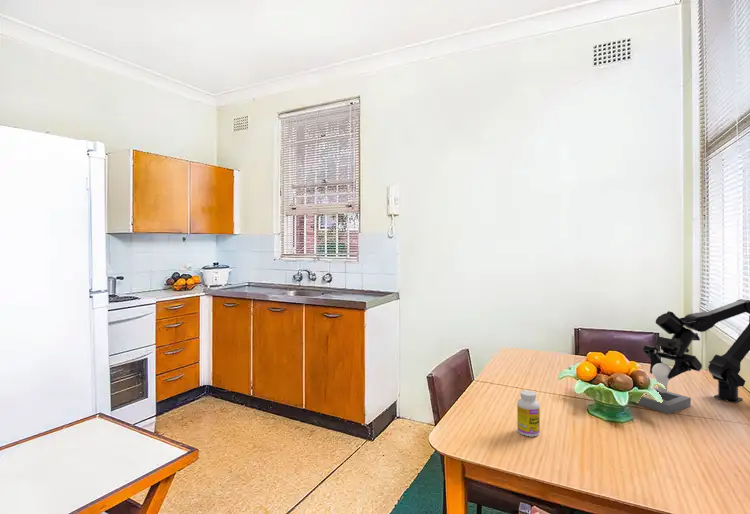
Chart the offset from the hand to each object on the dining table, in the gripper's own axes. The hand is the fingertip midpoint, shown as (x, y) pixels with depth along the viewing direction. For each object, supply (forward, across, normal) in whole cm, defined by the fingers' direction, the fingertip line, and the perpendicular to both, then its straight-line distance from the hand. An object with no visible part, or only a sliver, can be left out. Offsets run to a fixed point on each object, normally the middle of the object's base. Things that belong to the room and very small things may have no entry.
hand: (659, 375), depth 151 cm
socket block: (+7, 0, +8) cm, 11 cm away
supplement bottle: (+49, 0, -35) cm, 60 cm away
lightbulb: (+4, 0, +6) cm, 7 cm away
